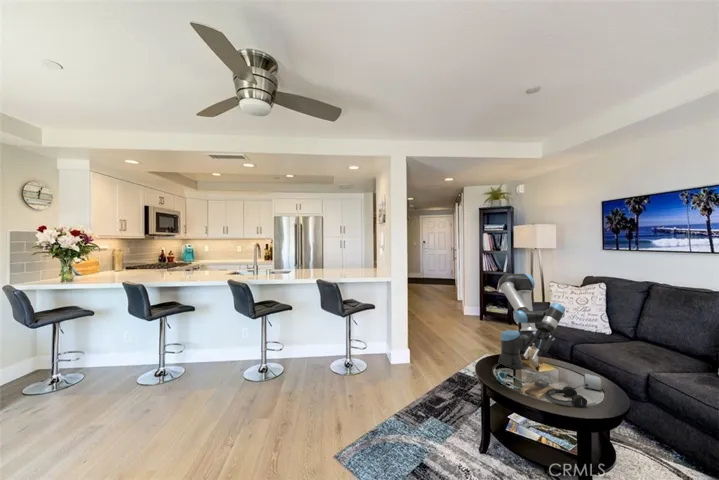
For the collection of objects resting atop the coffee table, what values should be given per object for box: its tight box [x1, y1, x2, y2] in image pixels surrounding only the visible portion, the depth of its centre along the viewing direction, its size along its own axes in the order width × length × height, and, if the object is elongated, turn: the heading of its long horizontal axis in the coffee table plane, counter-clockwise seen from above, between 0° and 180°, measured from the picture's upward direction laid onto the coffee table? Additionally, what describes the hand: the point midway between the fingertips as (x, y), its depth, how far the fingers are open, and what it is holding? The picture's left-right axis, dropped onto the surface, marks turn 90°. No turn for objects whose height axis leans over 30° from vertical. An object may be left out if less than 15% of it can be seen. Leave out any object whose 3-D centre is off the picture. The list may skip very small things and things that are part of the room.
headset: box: [545, 384, 588, 408], centre depth 160 cm, size 14×10×20 cm
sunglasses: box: [496, 371, 525, 390], centre depth 180 cm, size 14×15×5 cm
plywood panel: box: [519, 381, 555, 400], centre depth 170 cm, size 10×18×2 cm, turn 125°
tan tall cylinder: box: [528, 343, 540, 368], centre depth 169 cm, size 4×4×12 cm
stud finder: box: [534, 378, 550, 389], centre depth 174 cm, size 5×6×3 cm
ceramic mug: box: [583, 373, 603, 391], centre depth 175 cm, size 11×8×8 cm
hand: (529, 358), depth 167 cm, fingers closed on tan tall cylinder, 4 cm apart
